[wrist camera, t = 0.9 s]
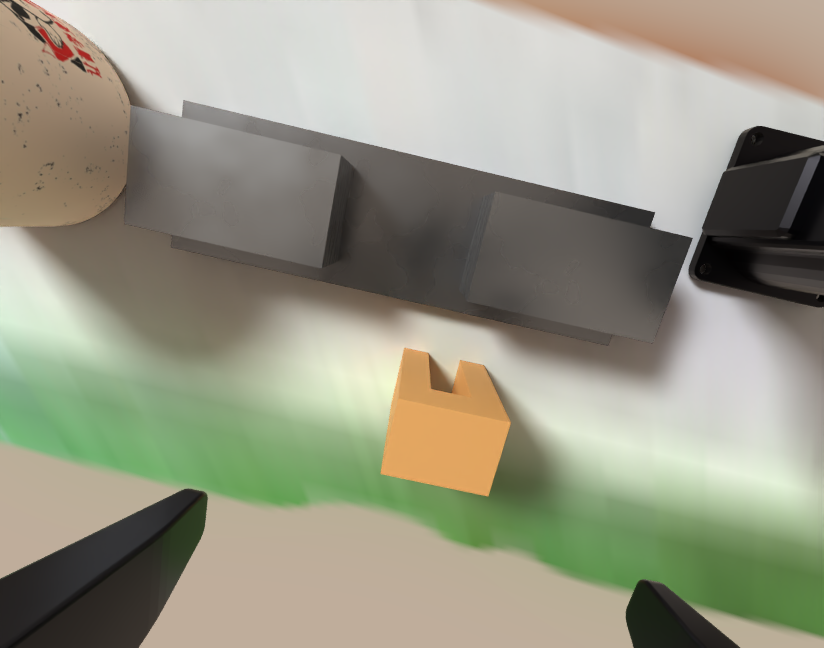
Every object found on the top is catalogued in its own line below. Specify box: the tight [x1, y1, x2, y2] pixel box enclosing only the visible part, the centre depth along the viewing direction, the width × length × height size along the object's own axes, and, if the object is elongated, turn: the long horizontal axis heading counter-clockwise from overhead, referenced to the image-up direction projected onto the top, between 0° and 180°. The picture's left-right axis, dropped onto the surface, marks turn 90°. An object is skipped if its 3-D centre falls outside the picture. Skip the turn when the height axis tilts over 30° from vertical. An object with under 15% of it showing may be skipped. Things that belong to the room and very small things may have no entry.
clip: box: [381, 348, 511, 496], centre depth 17 cm, size 4×3×6 cm
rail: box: [124, 100, 693, 346], centre depth 17 cm, size 20×6×4 cm, turn 77°
